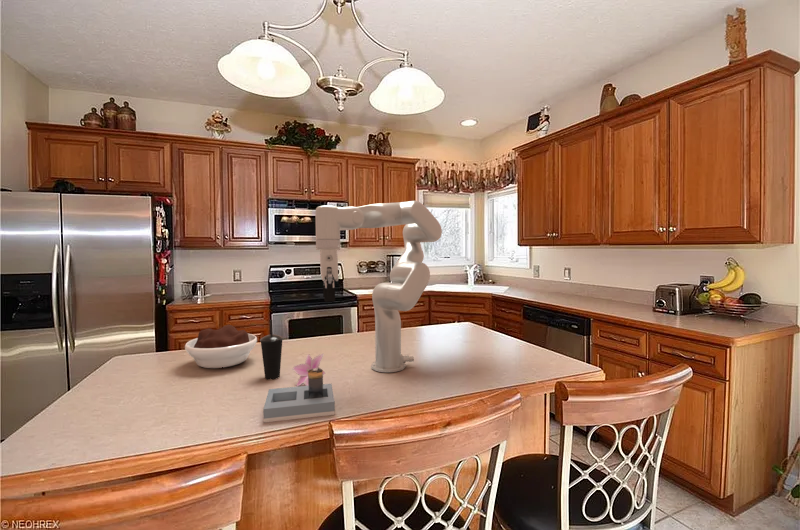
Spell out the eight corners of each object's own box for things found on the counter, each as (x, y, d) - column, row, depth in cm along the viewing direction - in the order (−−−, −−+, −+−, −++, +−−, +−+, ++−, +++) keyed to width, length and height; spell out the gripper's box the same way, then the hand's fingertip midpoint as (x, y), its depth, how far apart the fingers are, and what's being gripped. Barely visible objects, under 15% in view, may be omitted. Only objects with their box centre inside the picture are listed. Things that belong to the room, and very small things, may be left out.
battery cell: (323, 398, 108) (322, 366, 108) (323, 404, 104) (322, 370, 104) (308, 400, 107) (308, 367, 107) (308, 406, 103) (307, 371, 103)
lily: (292, 383, 127) (283, 363, 122) (322, 364, 132) (315, 344, 127) (306, 404, 118) (298, 384, 113) (339, 383, 124) (332, 363, 119)
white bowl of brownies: (240, 375, 132) (239, 333, 131) (170, 375, 132) (168, 333, 131) (267, 355, 157) (266, 319, 156) (208, 355, 157) (207, 319, 156)
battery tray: (331, 394, 114) (331, 383, 114) (334, 414, 100) (334, 401, 100) (269, 400, 110) (269, 389, 109) (263, 422, 96) (263, 409, 96)
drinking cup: (276, 381, 125) (275, 322, 124) (256, 380, 127) (254, 321, 126) (288, 374, 133) (286, 318, 132) (268, 372, 134) (267, 317, 133)
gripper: (342, 245, 111) (343, 302, 112) (338, 245, 128) (338, 295, 129) (316, 245, 109) (317, 303, 110) (315, 245, 126) (316, 296, 127)
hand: (329, 299), depth 119 cm, fingers open, 9 cm apart
